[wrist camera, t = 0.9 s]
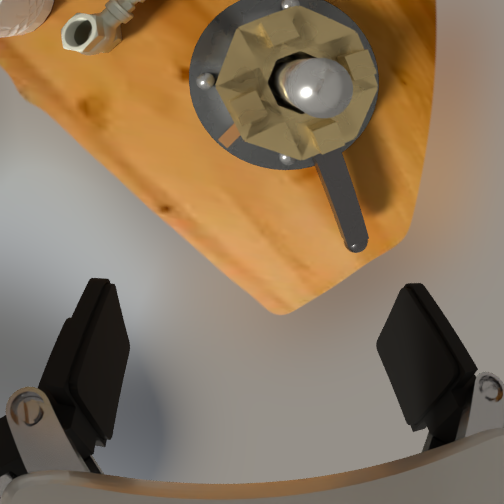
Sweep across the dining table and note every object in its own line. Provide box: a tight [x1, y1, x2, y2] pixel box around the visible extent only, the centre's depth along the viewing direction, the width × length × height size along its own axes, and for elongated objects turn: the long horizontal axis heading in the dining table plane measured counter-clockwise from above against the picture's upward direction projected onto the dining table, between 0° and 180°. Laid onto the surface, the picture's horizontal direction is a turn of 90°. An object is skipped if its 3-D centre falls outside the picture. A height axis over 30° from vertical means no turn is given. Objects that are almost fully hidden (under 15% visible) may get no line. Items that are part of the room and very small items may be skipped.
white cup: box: [0, 0, 54, 38], centre depth 15 cm, size 8×8×10 cm
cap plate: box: [189, 0, 379, 170], centre depth 22 cm, size 18×18×13 cm
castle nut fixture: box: [215, 5, 378, 253], centre depth 26 cm, size 25×12×7 cm, turn 25°
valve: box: [61, 0, 146, 55], centre depth 19 cm, size 7×7×12 cm
